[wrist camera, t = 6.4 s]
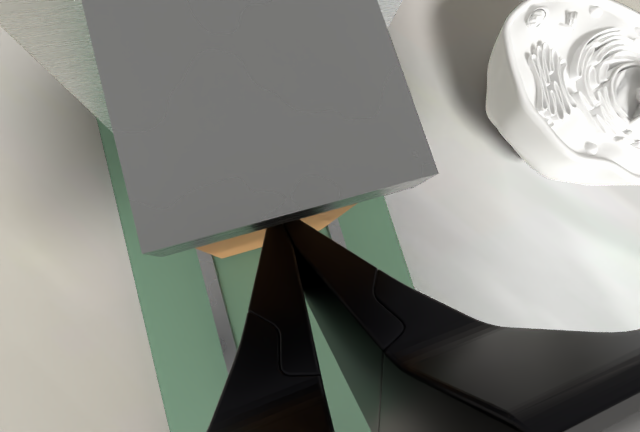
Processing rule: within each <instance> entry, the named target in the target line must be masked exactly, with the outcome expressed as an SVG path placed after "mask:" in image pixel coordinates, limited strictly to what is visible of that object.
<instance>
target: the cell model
mask: <svg viewBox="0 0 640 432" xmlns="http://www.w3.org/2000/svg"><path fill="white" fill-rule="evenodd" d="M486 113H487V116H488V118H489V119H490V121H491V122H492V123H493V124H494V125H495V126H496V127H497V129H498V130H499V132H500V134H501V135H502V136H503V137H504V138H505V140H506V141H507V142H508V143H509V144H510V145H511V146H512V147H513V148H514V150H515V151H516V152H517V153H518V154H519V156H520V157H521V158H522V159H523V160H524V161H525V162H526V163H527V164H528V166H530V167H531V168H532V169H533V170H534V171H536V172H537V173H538V174H540V175H541V176H543V177H545V178H548V179H551V180H556V181H562V182H569V183H576V184H582V185H593V186H607V185H640V13H639V12H637V11H635V10H633V9H631V8H629V7H628V6H626V5H624V4H621V3H619V2H617V1H615V0H525V1H523V2H522V3H521V4H519V5H518V6H517V7H516V8H515V9H514V10H513V11H512V12H511V13H510V14H509V15H508V17H507V18H506V20H505V22H504V24H503V26H502V29H501V31H500V33H499V35H498V37H497V40H496V42H495V45H494V47H493V50H492V53H491V56H490V60H489V64H488V69H487V94H486Z"/></svg>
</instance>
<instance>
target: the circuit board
mask: <svg viewBox="0 0 640 432" xmlns="http://www.w3.org/2000/svg"><path fill="white" fill-rule="evenodd" d="M96 118H97V117H96ZM97 122H98V126H99V130H100V135H101V139H102V143H103V148H104V152H105V156H106V160H107V165H108V169H109V173H110V177H111V182H112V186H113V190H114V195H115V199H116V203H117V207H118V212H119V216H120V220H121V224H122V229H123V233H124V237H125V242H126V246H127V250H128V254H129V259H130V263H131V267H132V271H133V276H134V280H135V284H136V289H137V293H138V297H139V301H140V306H141V310H142V314H143V318H144V323H145V327H146V331H147V336H148V340H149V344H150V348H151V353H152V357H153V361H154V365H155V370H156V374H157V378H158V382H159V387H160V391H161V395H162V400H163V404H164V408H165V412H166V417H167V421H168V425H169V429H170V432H206V431H207V429H208V427H209V424H210V422H211V419H212V417H213V414H214V411H215V409H216V406H217V403H218V401H219V398H220V396H221V393H222V390H223V388H224V385H225V382H226V380H227V377H228V372H227V368H226V364H225V360H224V356H223V352H222V348H221V345H220V341H219V337H218V333H217V329H216V325H215V321H214V317H213V314H212V310H211V306H210V302H209V298H208V294H207V290H206V287H205V283H204V279H203V275H202V271H201V267H200V263H199V259H198V256H197V252H196V249H195V248H193V249H190V250H186V251H183V252H179V253H175V254H172V255H168V256H165V257H157V256H151V255H145V254H142V252H141V248H140V243H139V239H138V235H137V231H136V227H135V223H134V218H133V214H132V210H131V206H130V202H129V197H128V193H127V189H126V185H125V181H124V177H123V172H122V168H121V164H120V160H119V156H118V151H117V147H116V143H115V139H114V135H113V133H112V132H111V131H110V130H109V129H108V128H107V127H106V126H105V125H104V124H103V123H102V122H101V121H100V120H99V119H98V118H97ZM338 221H339V224H340V228H341V231H342V234H343V237H344V240H345V244H346V247H347V249H348V250H349V251H351V252H353V253H354V254H356V255H357V256H359V257H361V258H362V259H364V260H365V261H367V262H369V263H370V264H372V265H373V266H375V267H377V268H378V270H379V269H380V270H382V271H383V272H385V273H386V274H388V275H390V276H391V277H393V278H395V279H397V280H398V281H400V282H402V283H403V284H405V285H407V286H409V287H411V288H413V289H414V286H413V283H412V280H411V277H410V274H409V271H408V268H407V265H406V262H405V259H404V256H403V253H402V250H401V247H400V244H399V241H398V238H397V235H396V232H395V229H394V226H393V223H392V220H391V217H390V214H389V211H388V208H387V205H386V202H385V199H384V196H381V197H378V198H374V199H370V200H367V201H363V202H360V203H357V204H356V205H355V206H353V207H352V208H350V209H349V210H348V211H346V212H345V213H344V214H342V215H341V216H339V217H338ZM319 232H320V233H322V234H324V235H325V236H327V237H328V238H329V235H328V232H327V228H326V227H324V228H323V229H321V230H320V231H319ZM261 250H262V247H261V248H257V249H254V250H250V251H247V252H243V253H240V254H236V255H233V256H229V257H226V258H219V257H216V256H214V255H213V258H214V262H215V266H216V270H217V273H218V277H219V281H220V285H221V289H222V292H223V296H224V300H225V304H226V307H227V311H228V315H229V319H230V323H231V326H232V330H233V334H234V338H235V342H236V345H237V349H238V346H239V343H240V339H241V336H242V332H243V328H244V324H245V320H246V315H247V313H248V307H249V303H250V298H251V294H252V290H253V285H254V281H255V276H256V272H257V267H258V263H259V259H260V254H261ZM305 301H306V299H305ZM306 306H307V310H308V315H309V320H310V324H311V329H312V334H313V338H314V343H315V348H316V352H317V357H318V362H319V366H320V371H321V376H322V380H323V385H324V389H325V394H326V398H327V403H328V407H329V411H330V415H331V419H332V423H333V427H334V431H335V432H371V430H370V428H369V426H368V424H367V422H366V420H365V418H364V416H363V414H362V412H361V410H360V408H359V406H358V404H357V402H356V400H355V398H354V396H353V394H352V392H351V390H350V388H349V386H348V384H347V382H346V380H345V378H344V376H343V374H342V372H341V370H340V368H339V366H338V364H337V362H336V359H335V357H334V355H333V353H332V351H331V349H330V347H329V345H328V343H327V341H326V339H325V337H324V335H323V333H322V331H321V329H320V327H319V325H318V323H317V321H316V319H315V317H314V315H313V313H312V311H311V309H310V307H309V305H308V303H307V301H306Z"/></svg>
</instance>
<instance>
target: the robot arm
mask: <svg viewBox="0 0 640 432" xmlns="http://www.w3.org/2000/svg"><path fill="white" fill-rule="evenodd" d="M305 299H306V301H307V303H308V305H309V307H310V309H311V311H312V313H313V315H314V317H315V319H316V321H317V323H318V325H319V327H320V329H321V331H322V333H323V335H324V337H325V339H326V341H327V343H328V345H329V347H330V349H331V351H332V353H333V355H334V357H335V359H336V362H337V364H338V366H339V368H340V370H341V372H342V374H343V376H344V378H345V380H346V382H347V384H348V386H349V388H350V390H351V392H352V394H353V396H354V398H355V400H356V402H357V404H358V406H359V408H360V410H361V412H362V414H363V416H364V418H365V420H366V422H367V424H368V426H369V428H370V430H371V432H640V329H638V330H633V331H627V332H584V331H566V330H547V329H529V328H510V327H500V326H495V325H491V324H487V323H484V322H482V321H479V320H476V319H474V318H472V317H470V316H468V315H465V314H463V313H461V312H459V311H457V310H455V309H453V308H451V307H449V306H447V305H445V304H443V303H441V302H439V301H437V300H435V299H433V298H430V297H428V296H426V295H424V294H422V293H420V292H419V291H417V290H415V289H413V288H411V287H409V286H407V285H405V284H403V283H402V282H400V281H398V280H397V279H395V278H393V277H391V276H390V275H388V274H386V273H385V272H383V271H382V270H380V269H379V270H378V268H377V267H375V266H373V265H372V264H370V263H369V262H367V261H365V260H364V259H362V258H361V257H359V256H357V255H356V254H354V253H353V252H351V251H349V250H348V249H346V248H345V247H343V246H341V245H340V244H338V243H337V242H335V241H333V240H332V239H330V238H328V237H327V236H325V235H324V234H322V233H320V232H319V231H317V230H316V229H314V228H312V227H311V226H309V225H308V224H306V223H304V222H303V221H301V220H300V219H298V220H295V221H291V222H287V223H284V224H280V225H276V226H273V227H269V228H266V232H265V236H264V241H263V245H262V250H261V254H260V259H259V263H258V267H257V272H256V276H255V281H254V285H253V290H252V294H251V298H250V303H249V307H248V313H247V315H246V320H245V324H244V328H243V332H242V336H241V339H240V343H239V346H238V349H237V352H236V355H235V358H234V361H233V364H232V366H231V369H230V372H229V374H228V377H227V380H226V382H225V385H224V388H223V390H222V393H221V396H220V398H219V401H218V403H217V406H216V409H215V411H214V414H213V417H212V419H211V422H210V424H209V427H208V429H207V431H206V432H335V431H334V427H333V423H332V419H331V415H330V411H329V407H328V403H327V398H326V394H325V389H324V385H323V380H322V376H321V371H320V366H319V362H318V357H317V352H316V348H315V343H314V338H313V334H312V329H311V324H310V320H309V315H308V310H307V306H306V301H305Z"/></svg>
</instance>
